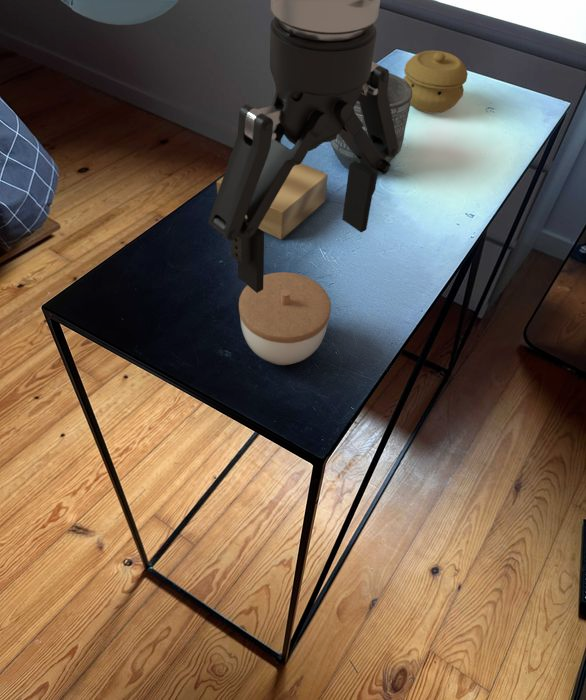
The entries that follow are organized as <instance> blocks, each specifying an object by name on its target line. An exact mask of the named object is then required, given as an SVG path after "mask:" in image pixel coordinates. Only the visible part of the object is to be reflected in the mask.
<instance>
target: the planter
mask: <svg viewBox="0 0 586 700" xmlns="http://www.w3.org/2000/svg"><path fill="white" fill-rule="evenodd" d="M387 94H388V99H389V104H390V109H391V114H392V119H393V123H394V128H395V133H396V138H397V143H398V152H397V154H396V155H395V156H394V157H392V158H391V157H389V156H388V157H387V158H385V160H386V161H388V162H390V163H391V162H392V161H393V160H394V159H395V158H396V157H397V155H398V154H400V152H401V150H402V147H403V143H404V139H405V133H406V127H407V122H408V117H409V113H410V108H411V105H410V104H411V98H412V88H411V86H410V85H409V84H408V83H407V82H406V81H405V80H404V79H403V78H402V77H400V76H398V75H396V74H393V73H391V72H389V80H388V90H387ZM353 109H354V110H355V111H354V112H355V114H356V115H357V117H358V118H359V119H360V121H361V122H362V124H363V127H362V128H363V129H364V131H365V132H366V134H367V135H368V132H367V128H366V125H365V121H364V117H363V113H362V110H361V106H360V102H359V99H358V100H357V102H356V104H355V106H354V108H353ZM329 143H330V146H331V148H332V150H333V152H334V154H335V157H336V158H337V159H338V161H339V163H340V164H341V165H342V166H343V167H344V168H345V169H347V170H349V165H350V163H352V162H354V161H356V162H358V163H360V160H359V159H357V157H356V156H355V155H354V153H353V152H352V151H351V149H350V148H349V147H348V146H347V144H346V143H345V142H344V140H343V139H342V138H341V136H340V135H339V134H337V138H336V139H335V140H332V141H330V142H329Z"/></svg>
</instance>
